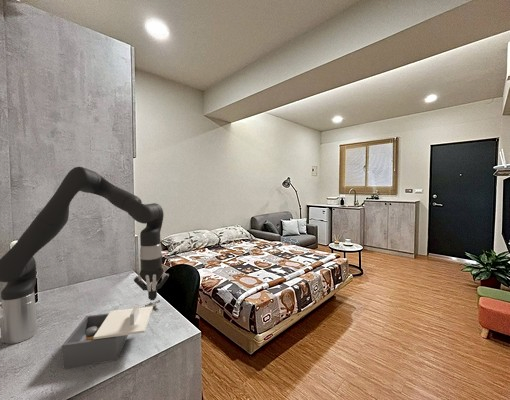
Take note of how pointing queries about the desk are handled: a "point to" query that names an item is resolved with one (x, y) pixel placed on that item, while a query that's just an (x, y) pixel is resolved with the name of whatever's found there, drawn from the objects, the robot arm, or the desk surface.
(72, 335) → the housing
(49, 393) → the desk surface
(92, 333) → the peg
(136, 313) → the lid
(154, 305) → the clamp
